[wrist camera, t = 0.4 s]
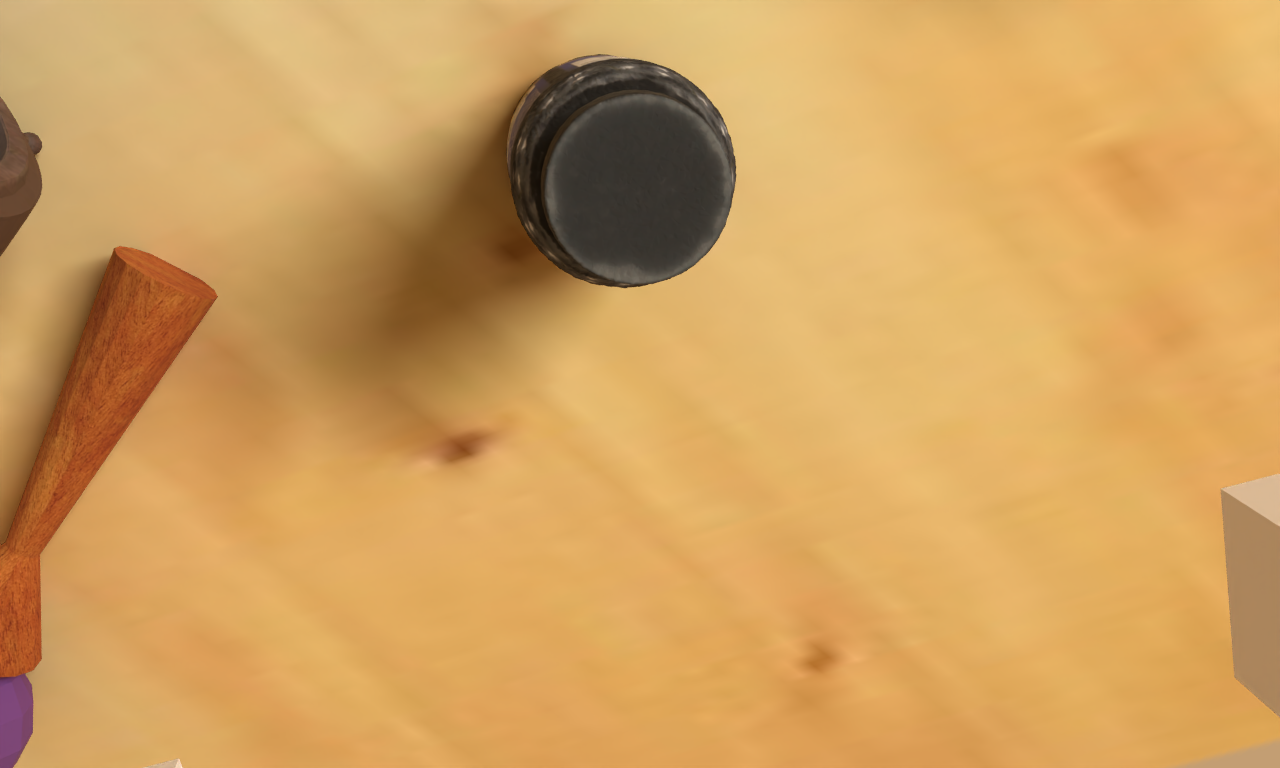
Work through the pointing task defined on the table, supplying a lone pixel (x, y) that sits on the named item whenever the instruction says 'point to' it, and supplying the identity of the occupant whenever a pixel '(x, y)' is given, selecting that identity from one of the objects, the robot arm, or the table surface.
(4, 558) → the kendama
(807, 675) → the table surface
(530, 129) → the pill bottle
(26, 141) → the alarm clock
